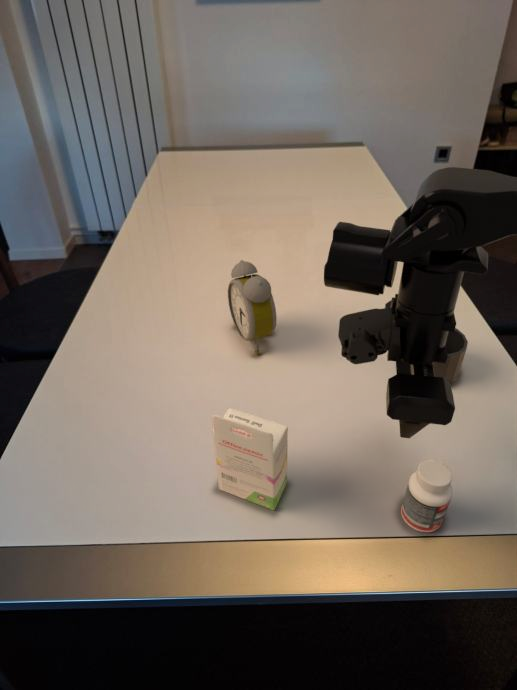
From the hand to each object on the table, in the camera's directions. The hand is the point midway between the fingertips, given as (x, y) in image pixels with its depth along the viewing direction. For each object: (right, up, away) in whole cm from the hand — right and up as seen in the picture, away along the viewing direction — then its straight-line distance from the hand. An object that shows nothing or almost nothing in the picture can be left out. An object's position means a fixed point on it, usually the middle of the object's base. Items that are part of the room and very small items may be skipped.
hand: (403, 408), depth 60 cm
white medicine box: (-18, -12, +9) cm, 24 cm away
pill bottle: (+4, -15, +5) cm, 16 cm away
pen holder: (+13, +3, +27) cm, 30 cm away
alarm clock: (-18, +9, +35) cm, 41 cm away
